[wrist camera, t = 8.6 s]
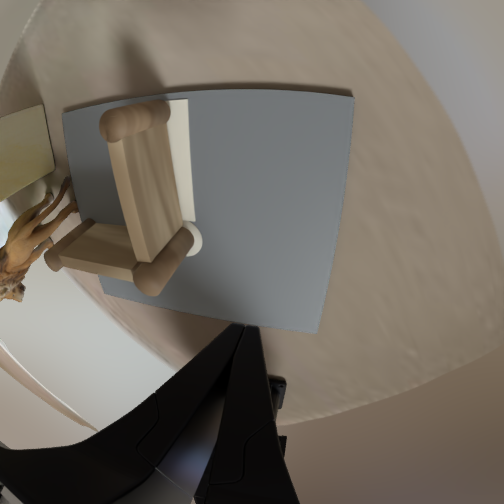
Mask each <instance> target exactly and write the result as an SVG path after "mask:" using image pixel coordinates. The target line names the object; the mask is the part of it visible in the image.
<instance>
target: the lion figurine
mask: <svg viewBox="0 0 504 504" xmlns="http://www.w3.org/2000/svg"><path fill="white" fill-rule="evenodd" d="M69 186H70V177H69V176H66V177H65V179H64V181H63V184H62V185H61V189H60V192H59V194H58V196H57V198H56V199H55V201H54V199H53V196H52V194H51V193H47V194H46V195H45V199H43V201H42V202H41V203H39V204H37V205H36V206H34V207H32V208H31V209H29V210H27V211H26V212H24V213H23V214H22V215H21V216H20V217H19V218H18V219H17V220H16V221H15V222H14V224H13V225H12V227H11V229H10V230H9V232H8V239H7V241H6V244H5V245H4V246H3V247H1V248H0V301H2V300H3V299H4V298H7V299H13V300H16V301H18V302H22V298H23V296H24V291H25V289H26V287H25V286H24V285H23V284H22V283H21V281H22V280H23V279H24V278H25V276H24V275H25V274H26V273H27V271H28V269H29V267H30V265H31V264H32V263H33V262H34V261H35V260H37V258H39V256H40V255H41V254H42V252H43V251H44V250H45V249H46V248H48V249H50V248H51V247H52V246H53V242H52V241H51V239H50V238H48V237H49V236H50V235H51V234H52V233H53V232H54V231H55V230H56V229H57V228H58V226H59V225H60V224H61V222H62V221H63V220H64V219H66V218H67V217H68V215H69V214H70V213H71V212H72V213H77V212H78V211H79V210H78V206H77V202H76V201H72V202H71V203H69V204H68V205H67V206H66V207H65V208H64V209H62V210H61V211H60V212H59V214H58V215H57V217H56V218H55V219H54V220H52V221H50V222H49V223H46V224H44V225H41V226H37V225H38V224H39V223H40V222H41V221H43V220H44V219H45V218H46V217H47V216H48V215H49V214H50V213H51V212H52V211H53V210H54V209H55V208H56V207H57V205H58V204H59V203H60V201H61V200H62V198H63V196H64V194H65V192H66V190H67V188H68V187H69ZM53 201H54V202H53ZM50 204H51V205H50ZM49 205H50V206H49ZM47 206H49V207H48V208H47V209H46V210H44V211H43V212H42V213H41V214H40V215H39V213H40V212H41V210H42V209H44V208H45V207H47ZM37 245H39V246H38V247H36V246H37ZM34 247H36V248H35V249H34ZM33 249H34V250H33Z"/></svg>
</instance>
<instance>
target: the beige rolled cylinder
mask: <svg viewBox="0 0 504 504" xmlns="http://www.w3.org/2000/svg"><path fill="white" fill-rule="evenodd" d="M170 115H171V110H170V107H169V105H168V104H167V103H166V102H165V101H163V100H152V101H146V102H141V103H136V104H131V105H126V106H121V107H117V108H113V109H109V110H107V111H105V112H104V113H103V114H102V116H101V118H100V121H99V131H100V134H101V136H102V137H103V139H104V140H106V141H107V144H108V149H109V154H110V159H111V164H112V169H113V173H114V178H115V182H116V186H117V191H118V195H119V199H120V203H121V207H122V211H123V214H124V218H125V222H126V225H127V229H128V232H129V236H130V239H131V243H132V246H133V249H134V253H135V256H136V259H137V261H139V262H150V263H151V262H152V261H153V259H154V258H155V257H156V256H157V255H158V253H159V252H160V251H161V250H162V249H163V248H164V246H165V245H166V244H167V243H168V242H169V241H170V239H171V238H172V237H173V236H174V235H175V234H176V232H177V231H178V230H179V229H180V228H181V227H182V226H183V221H182V215H181V210H180V205H179V199H178V194H177V188H176V182H175V176H174V170H173V164H172V158H171V151H170V144H169V138H168V130H167V122H168V120H169V118H170Z"/></svg>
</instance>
